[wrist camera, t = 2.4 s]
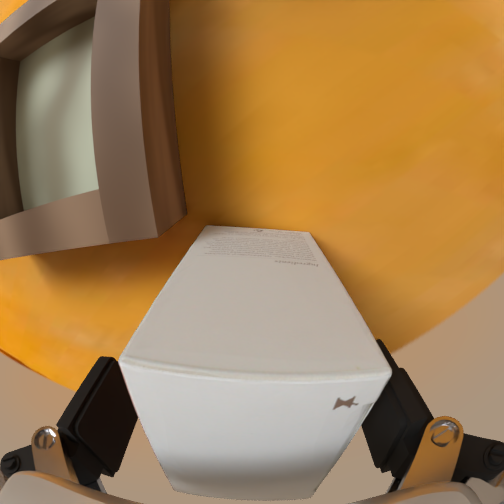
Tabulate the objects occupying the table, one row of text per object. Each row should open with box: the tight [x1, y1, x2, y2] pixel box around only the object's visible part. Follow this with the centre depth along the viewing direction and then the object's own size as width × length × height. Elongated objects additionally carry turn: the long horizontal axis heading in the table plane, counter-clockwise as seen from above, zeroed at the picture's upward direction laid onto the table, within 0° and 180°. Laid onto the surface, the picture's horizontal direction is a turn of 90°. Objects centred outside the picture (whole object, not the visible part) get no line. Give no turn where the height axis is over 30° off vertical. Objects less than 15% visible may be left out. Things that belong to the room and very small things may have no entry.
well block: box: [0, 0, 187, 260], centre depth 10 cm, size 14×16×4 cm
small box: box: [118, 225, 392, 501], centre depth 11 cm, size 8×6×10 cm
